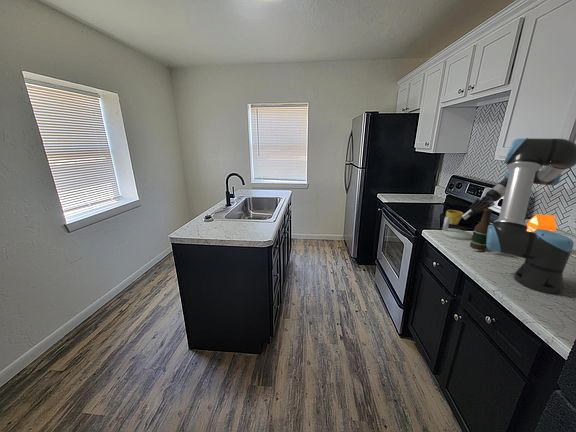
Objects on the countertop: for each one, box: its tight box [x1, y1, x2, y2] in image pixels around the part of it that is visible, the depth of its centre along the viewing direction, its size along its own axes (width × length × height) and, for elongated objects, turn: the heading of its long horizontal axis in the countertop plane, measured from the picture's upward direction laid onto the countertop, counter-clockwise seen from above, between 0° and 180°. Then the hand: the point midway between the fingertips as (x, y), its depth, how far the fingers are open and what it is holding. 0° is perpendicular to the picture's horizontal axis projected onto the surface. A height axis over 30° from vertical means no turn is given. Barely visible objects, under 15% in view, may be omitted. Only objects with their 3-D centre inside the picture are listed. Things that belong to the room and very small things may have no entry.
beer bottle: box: [469, 208, 493, 253], centre depth 135 cm, size 8×8×24 cm
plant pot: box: [445, 209, 464, 226], centre depth 178 cm, size 10×10×10 cm
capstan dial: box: [441, 216, 473, 241], centre depth 155 cm, size 16×16×11 cm
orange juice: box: [526, 213, 557, 232], centre depth 140 cm, size 8×9×20 cm
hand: (463, 217), depth 159 cm, fingers closed
